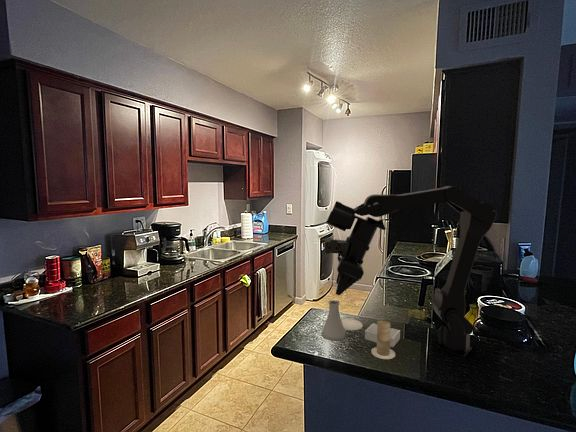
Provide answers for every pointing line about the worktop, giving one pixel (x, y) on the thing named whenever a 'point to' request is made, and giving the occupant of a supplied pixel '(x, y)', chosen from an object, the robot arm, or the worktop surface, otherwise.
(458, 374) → the worktop surface
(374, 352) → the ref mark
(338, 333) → the flask
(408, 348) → the worktop surface
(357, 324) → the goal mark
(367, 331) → the grey cover
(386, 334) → the birch peg
